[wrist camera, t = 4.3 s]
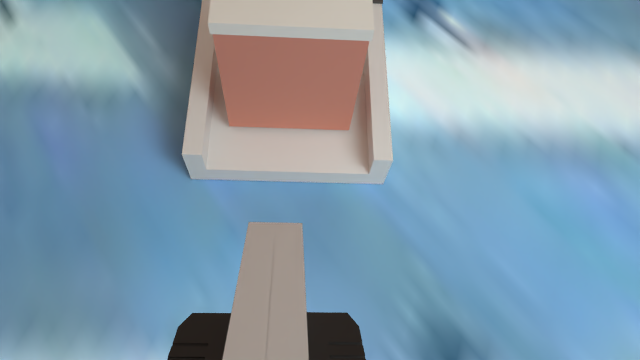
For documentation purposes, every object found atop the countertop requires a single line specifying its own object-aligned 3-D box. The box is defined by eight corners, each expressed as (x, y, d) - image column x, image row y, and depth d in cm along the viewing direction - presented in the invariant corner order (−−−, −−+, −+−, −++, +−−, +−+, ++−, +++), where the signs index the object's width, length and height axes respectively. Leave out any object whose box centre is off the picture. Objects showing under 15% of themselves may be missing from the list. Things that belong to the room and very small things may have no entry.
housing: (383, 184, 35) (412, 117, 27) (190, 178, 34) (163, 108, 26) (369, -44, 44) (387, -142, 36) (218, -53, 43) (204, -154, 36)
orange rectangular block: (350, 131, 34) (374, 30, 25) (227, 127, 33) (207, 22, 25) (348, 69, 36) (369, -44, 27) (233, 64, 36) (217, -53, 27)
